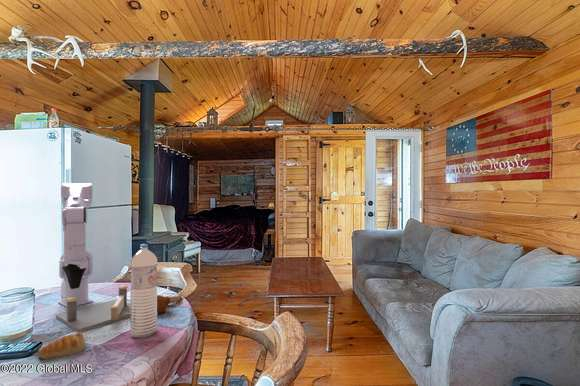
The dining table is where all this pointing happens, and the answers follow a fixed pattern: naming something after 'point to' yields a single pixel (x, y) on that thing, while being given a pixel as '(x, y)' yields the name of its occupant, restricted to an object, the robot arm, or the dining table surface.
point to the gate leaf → (117, 308)
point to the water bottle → (143, 293)
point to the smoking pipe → (166, 302)
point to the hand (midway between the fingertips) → (74, 288)
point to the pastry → (63, 346)
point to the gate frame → (93, 313)
